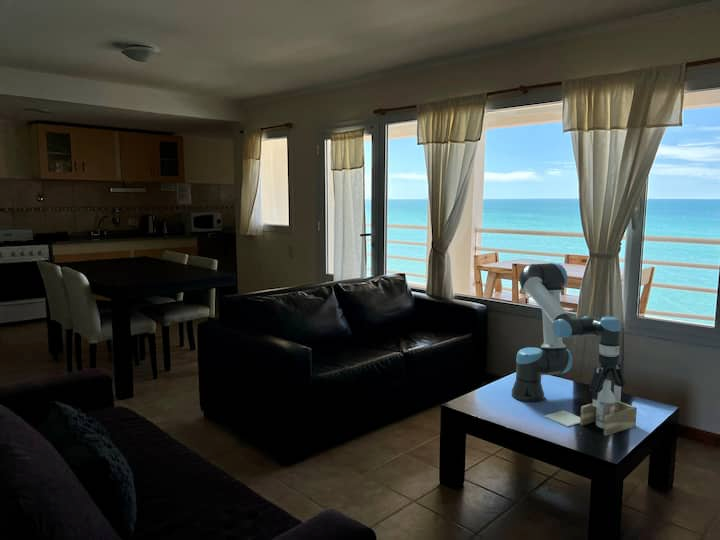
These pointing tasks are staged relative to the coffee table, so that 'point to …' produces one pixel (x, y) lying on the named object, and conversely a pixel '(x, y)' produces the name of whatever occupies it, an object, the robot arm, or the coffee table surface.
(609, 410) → the bath foam
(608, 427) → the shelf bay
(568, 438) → the coffee table surface
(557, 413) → the tile
